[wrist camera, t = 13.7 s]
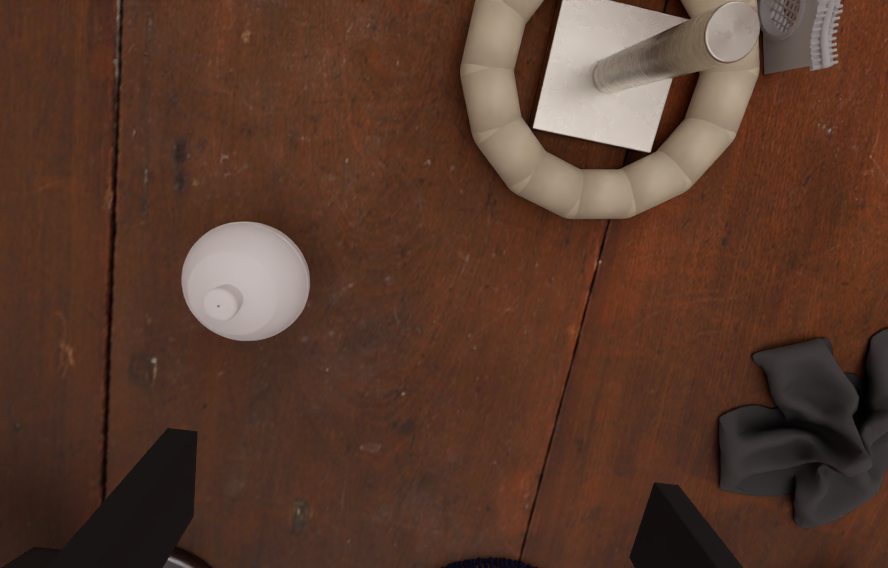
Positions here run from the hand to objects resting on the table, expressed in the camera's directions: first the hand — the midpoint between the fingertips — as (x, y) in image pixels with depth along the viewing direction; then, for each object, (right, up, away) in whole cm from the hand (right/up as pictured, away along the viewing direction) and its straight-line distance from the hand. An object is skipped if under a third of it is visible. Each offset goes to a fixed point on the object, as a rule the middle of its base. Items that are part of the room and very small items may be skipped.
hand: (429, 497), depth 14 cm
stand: (+12, +21, +22) cm, 32 cm away
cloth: (+35, -6, +31) cm, 47 cm away
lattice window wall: (+23, +27, +21) cm, 41 cm away
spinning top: (-12, +8, +24) cm, 28 cm away
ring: (+12, +21, +20) cm, 31 cm away
